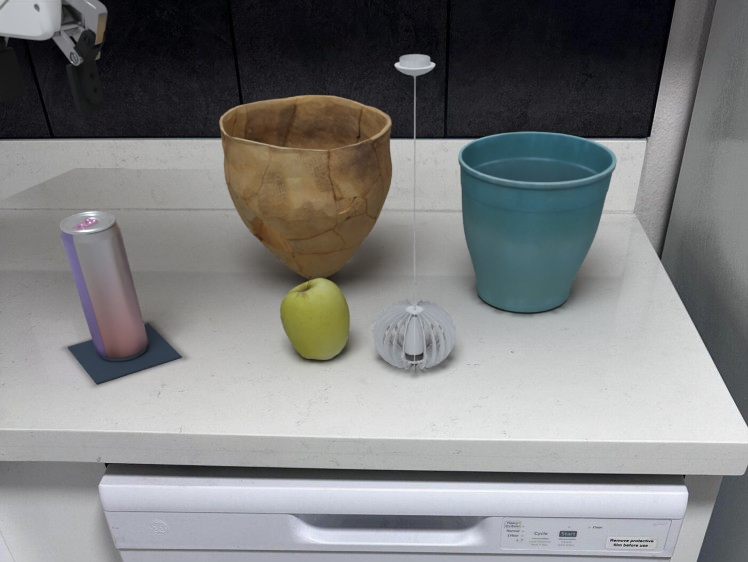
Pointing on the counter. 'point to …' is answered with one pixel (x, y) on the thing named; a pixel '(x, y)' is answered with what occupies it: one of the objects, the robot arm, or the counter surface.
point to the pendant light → (422, 310)
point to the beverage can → (104, 284)
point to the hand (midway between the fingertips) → (51, 104)
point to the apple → (316, 319)
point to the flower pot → (531, 213)
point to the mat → (110, 370)
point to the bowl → (308, 176)
